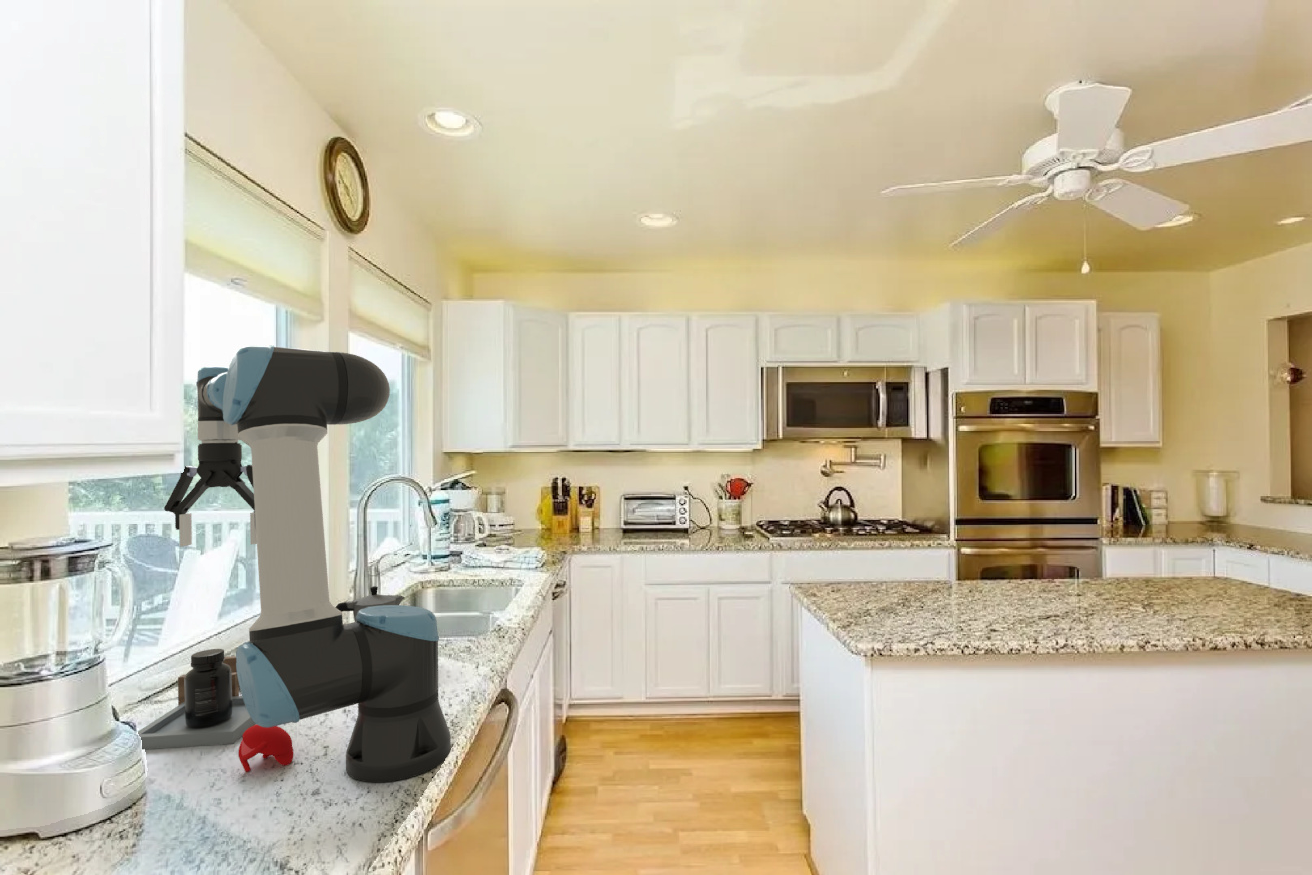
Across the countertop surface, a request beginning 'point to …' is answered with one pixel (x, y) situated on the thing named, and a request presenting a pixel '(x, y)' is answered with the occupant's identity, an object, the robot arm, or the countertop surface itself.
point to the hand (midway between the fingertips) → (221, 544)
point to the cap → (265, 745)
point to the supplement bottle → (208, 690)
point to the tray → (195, 729)
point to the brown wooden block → (235, 683)
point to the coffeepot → (369, 602)
